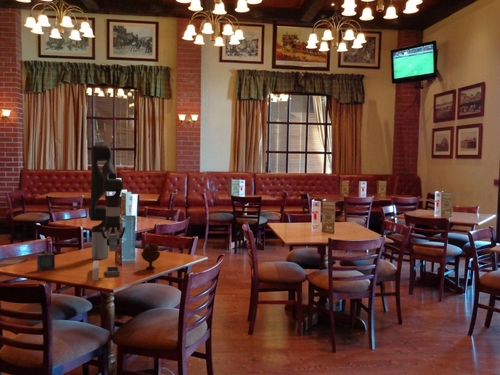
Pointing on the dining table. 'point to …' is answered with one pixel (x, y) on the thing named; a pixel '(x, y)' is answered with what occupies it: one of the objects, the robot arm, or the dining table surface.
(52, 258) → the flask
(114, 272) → the cradle
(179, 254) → the dining table surface
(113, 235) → the block
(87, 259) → the dining table surface
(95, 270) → the door board
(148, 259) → the ice cream bowl
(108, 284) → the dining table surface
